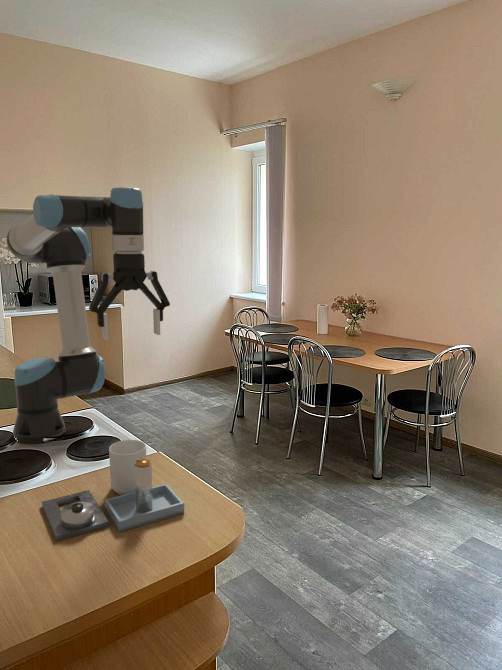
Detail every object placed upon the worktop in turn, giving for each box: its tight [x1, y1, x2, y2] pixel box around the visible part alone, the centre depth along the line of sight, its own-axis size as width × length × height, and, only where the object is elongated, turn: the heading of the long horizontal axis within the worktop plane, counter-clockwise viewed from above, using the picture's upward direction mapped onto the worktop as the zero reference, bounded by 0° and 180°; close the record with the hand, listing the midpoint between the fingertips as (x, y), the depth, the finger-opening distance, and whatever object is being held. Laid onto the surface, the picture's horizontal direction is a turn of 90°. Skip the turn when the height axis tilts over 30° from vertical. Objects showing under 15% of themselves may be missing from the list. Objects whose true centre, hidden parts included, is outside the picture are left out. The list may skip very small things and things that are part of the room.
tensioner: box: [41, 489, 110, 542], centre depth 120 cm, size 16×11×5 cm
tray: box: [104, 483, 185, 533], centre depth 122 cm, size 15×11×2 cm
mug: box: [108, 439, 147, 496], centre depth 133 cm, size 12×9×11 cm
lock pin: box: [135, 458, 153, 513], centre depth 121 cm, size 4×4×12 cm
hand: (131, 336), depth 135 cm, fingers open, 13 cm apart
